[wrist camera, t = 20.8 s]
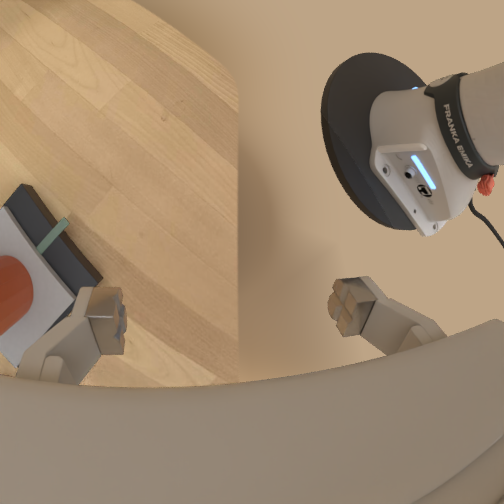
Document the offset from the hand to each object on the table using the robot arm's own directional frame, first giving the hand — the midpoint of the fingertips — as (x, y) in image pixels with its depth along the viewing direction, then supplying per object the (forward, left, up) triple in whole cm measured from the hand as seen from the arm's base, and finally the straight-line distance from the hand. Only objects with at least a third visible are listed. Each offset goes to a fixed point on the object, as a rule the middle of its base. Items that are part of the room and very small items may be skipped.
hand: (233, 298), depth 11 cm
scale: (+9, +15, -18) cm, 25 cm away
